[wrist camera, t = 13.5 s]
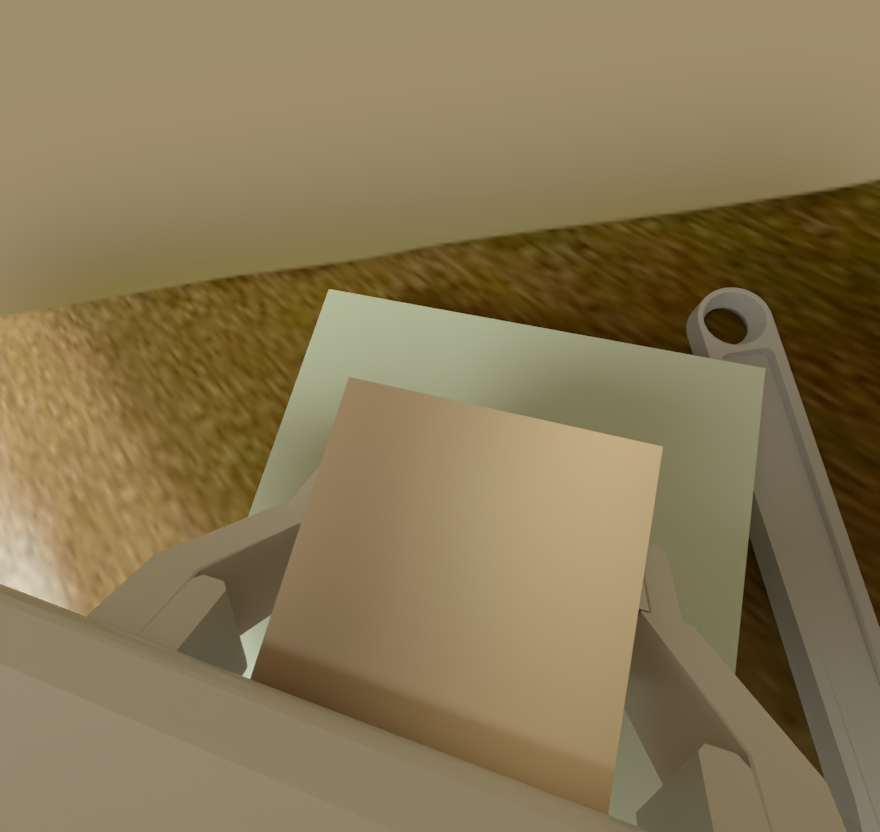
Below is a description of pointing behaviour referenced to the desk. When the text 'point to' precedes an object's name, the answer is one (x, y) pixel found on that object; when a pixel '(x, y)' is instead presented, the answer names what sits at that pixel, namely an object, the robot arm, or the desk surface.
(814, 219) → the desk surface
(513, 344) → the pale green square frame
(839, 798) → the adjustable wrench
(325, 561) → the wooden block
